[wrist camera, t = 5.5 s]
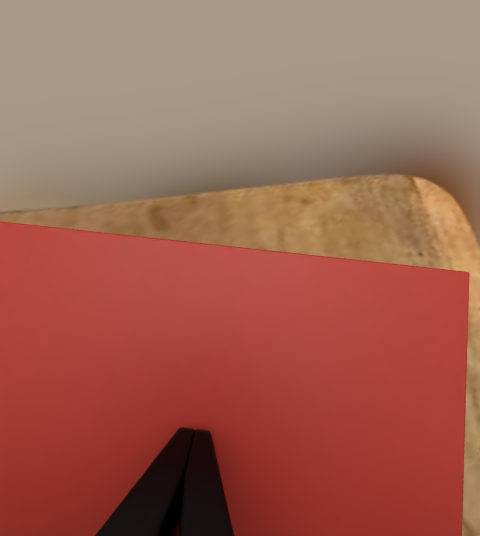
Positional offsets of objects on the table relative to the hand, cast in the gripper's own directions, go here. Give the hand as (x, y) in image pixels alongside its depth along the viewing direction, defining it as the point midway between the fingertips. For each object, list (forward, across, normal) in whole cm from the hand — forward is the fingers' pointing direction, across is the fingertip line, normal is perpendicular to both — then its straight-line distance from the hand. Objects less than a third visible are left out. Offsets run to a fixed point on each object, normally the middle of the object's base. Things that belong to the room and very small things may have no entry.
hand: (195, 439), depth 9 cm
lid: (+1, 0, +1) cm, 1 cm away
